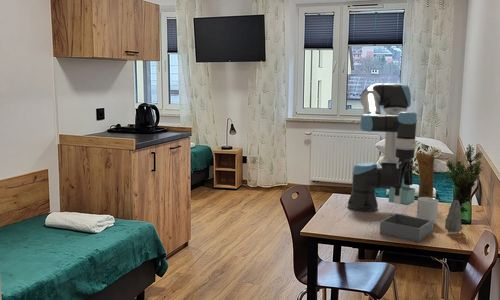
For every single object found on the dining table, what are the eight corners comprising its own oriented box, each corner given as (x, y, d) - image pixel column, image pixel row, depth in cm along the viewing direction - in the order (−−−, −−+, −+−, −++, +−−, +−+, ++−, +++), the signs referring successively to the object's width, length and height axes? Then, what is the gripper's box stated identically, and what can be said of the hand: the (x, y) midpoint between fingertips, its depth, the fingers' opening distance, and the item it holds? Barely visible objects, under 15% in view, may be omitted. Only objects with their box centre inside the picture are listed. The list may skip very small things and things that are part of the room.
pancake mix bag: (423, 210, 244) (428, 156, 240) (411, 201, 263) (415, 150, 259) (436, 210, 244) (441, 156, 240) (423, 201, 263) (427, 151, 259)
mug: (439, 225, 217) (441, 201, 215) (420, 225, 217) (421, 201, 215) (429, 218, 229) (431, 195, 227) (411, 217, 229) (412, 195, 227)
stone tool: (459, 231, 209) (462, 198, 207) (463, 233, 206) (466, 200, 204) (441, 231, 208) (444, 198, 206) (445, 234, 205) (448, 200, 202)
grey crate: (379, 233, 203) (380, 221, 202) (394, 225, 216) (395, 213, 215) (418, 242, 193) (419, 229, 192) (432, 233, 206) (433, 220, 205)
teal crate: (388, 201, 203) (389, 188, 202) (396, 199, 209) (397, 185, 208) (406, 205, 198) (407, 191, 197) (414, 202, 204) (415, 188, 203)
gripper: (403, 151, 190) (400, 207, 193) (423, 147, 206) (419, 199, 209) (386, 149, 195) (382, 203, 198) (406, 146, 211) (402, 196, 214)
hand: (401, 201), depth 203 cm, fingers closed on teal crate, 8 cm apart
